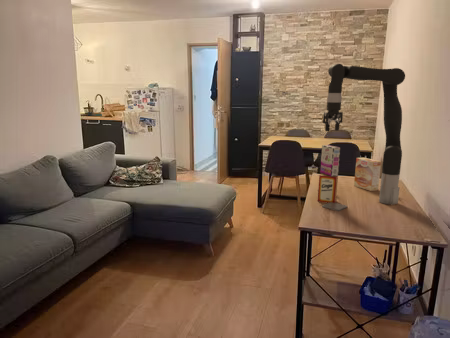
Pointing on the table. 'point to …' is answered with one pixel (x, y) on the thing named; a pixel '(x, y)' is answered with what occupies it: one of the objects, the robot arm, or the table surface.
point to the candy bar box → (330, 160)
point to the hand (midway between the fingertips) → (332, 130)
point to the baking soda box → (327, 188)
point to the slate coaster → (335, 206)
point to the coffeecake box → (367, 173)
